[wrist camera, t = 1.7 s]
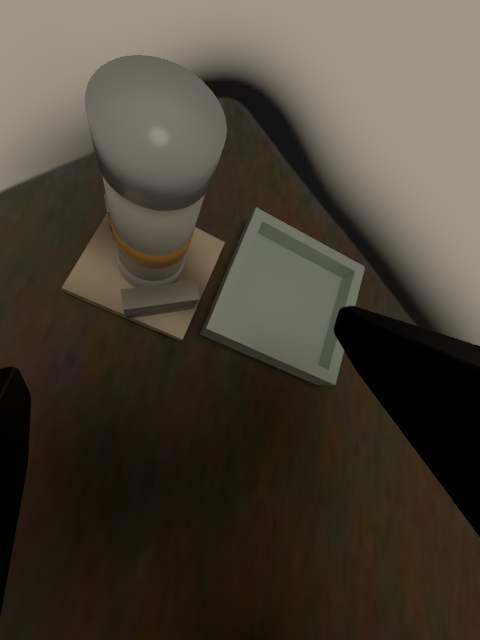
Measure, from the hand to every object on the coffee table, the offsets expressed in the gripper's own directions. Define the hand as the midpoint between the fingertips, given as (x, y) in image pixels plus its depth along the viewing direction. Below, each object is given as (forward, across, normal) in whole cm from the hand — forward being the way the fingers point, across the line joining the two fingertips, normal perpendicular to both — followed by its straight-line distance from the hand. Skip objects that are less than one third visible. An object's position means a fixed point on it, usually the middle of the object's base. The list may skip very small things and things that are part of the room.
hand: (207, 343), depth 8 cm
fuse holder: (+14, 0, +4) cm, 15 cm away
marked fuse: (+13, 0, +3) cm, 14 cm away
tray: (+11, -9, +7) cm, 16 cm away
